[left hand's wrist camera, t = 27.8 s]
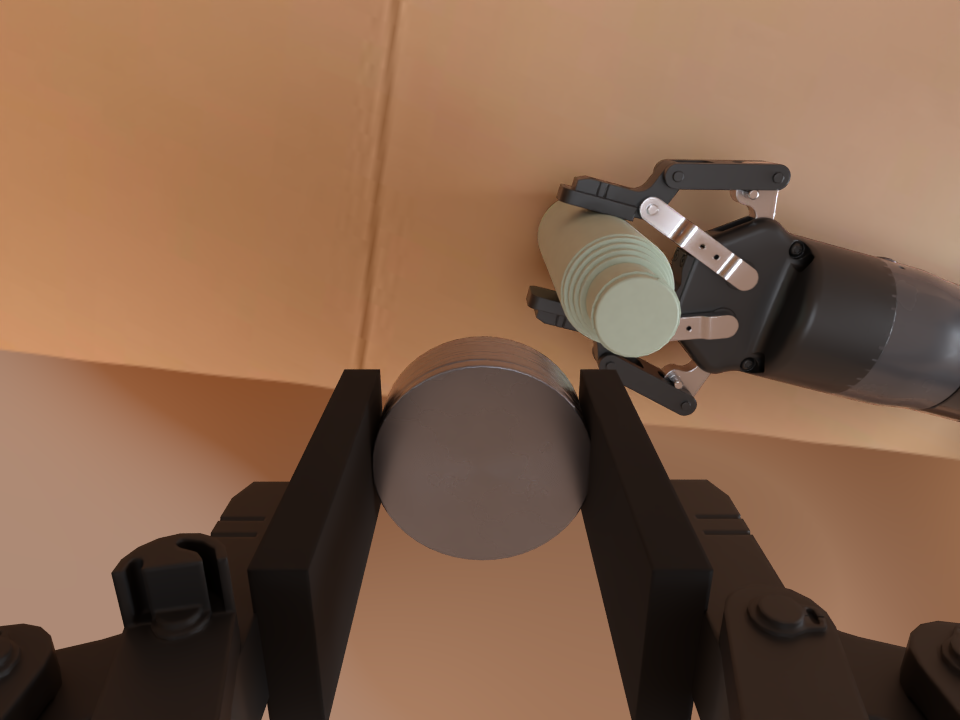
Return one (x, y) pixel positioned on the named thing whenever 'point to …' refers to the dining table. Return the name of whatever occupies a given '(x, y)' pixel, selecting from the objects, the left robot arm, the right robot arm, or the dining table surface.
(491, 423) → the cap
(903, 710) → the left robot arm
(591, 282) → the bottle
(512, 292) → the dining table surface
